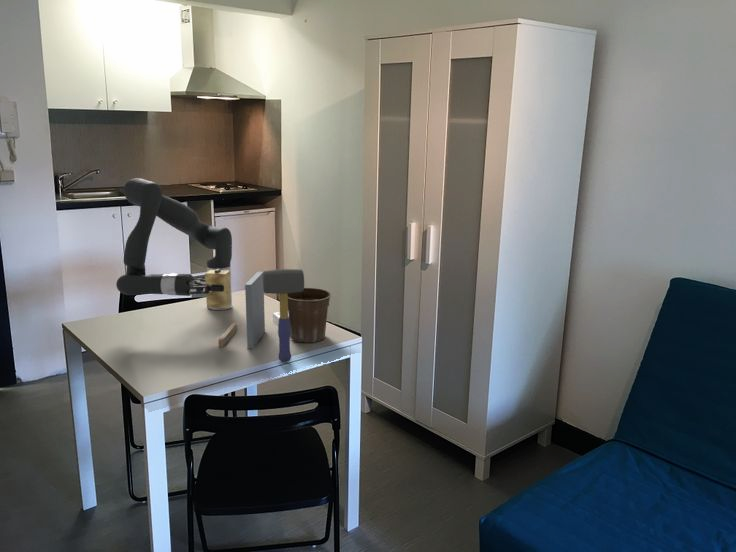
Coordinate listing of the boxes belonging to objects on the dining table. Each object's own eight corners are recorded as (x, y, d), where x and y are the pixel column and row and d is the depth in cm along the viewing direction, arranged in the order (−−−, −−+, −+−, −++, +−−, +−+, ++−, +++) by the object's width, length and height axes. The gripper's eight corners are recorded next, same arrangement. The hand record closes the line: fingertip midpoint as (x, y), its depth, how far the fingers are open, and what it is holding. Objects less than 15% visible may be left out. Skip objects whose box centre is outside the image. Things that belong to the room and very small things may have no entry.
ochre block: (206, 307, 206) (205, 270, 202) (211, 303, 210) (209, 267, 207) (227, 308, 205) (225, 271, 202) (231, 303, 210) (229, 268, 207)
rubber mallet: (266, 367, 185) (263, 273, 178) (264, 358, 192) (261, 267, 185) (306, 364, 188) (305, 271, 181) (302, 355, 195) (301, 265, 188)
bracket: (302, 329, 222) (302, 309, 220) (284, 331, 219) (283, 312, 217) (290, 319, 233) (290, 300, 231) (273, 321, 230) (272, 302, 228)
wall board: (218, 347, 202) (215, 283, 197) (232, 329, 219) (230, 271, 214) (253, 348, 201) (251, 284, 196) (264, 330, 219) (263, 271, 213)
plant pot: (340, 338, 212) (340, 294, 208) (302, 349, 201) (302, 302, 197) (313, 327, 223) (312, 285, 220) (276, 336, 213) (275, 292, 209)
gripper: (168, 279, 199) (219, 280, 198) (184, 269, 213) (231, 270, 212) (170, 300, 201) (220, 302, 200) (185, 289, 215) (232, 291, 214)
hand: (225, 286), depth 206 cm, fingers closed on ochre block, 5 cm apart
